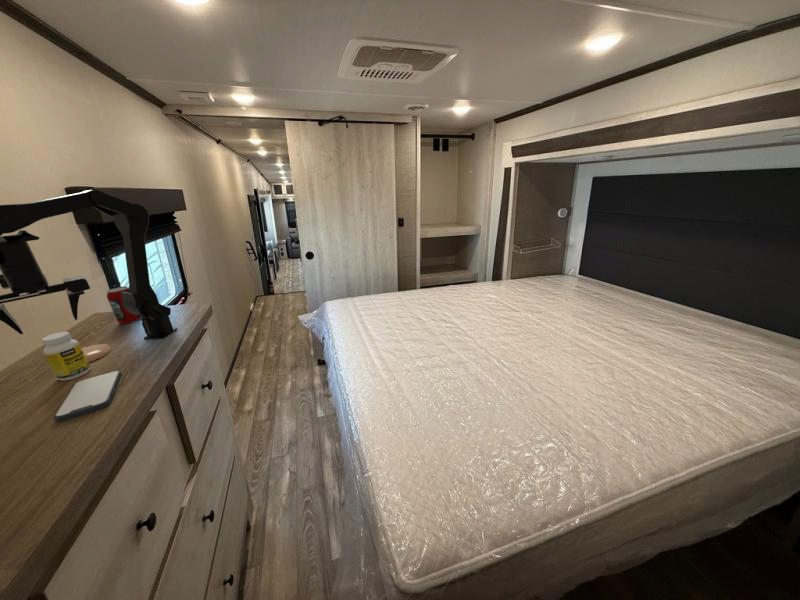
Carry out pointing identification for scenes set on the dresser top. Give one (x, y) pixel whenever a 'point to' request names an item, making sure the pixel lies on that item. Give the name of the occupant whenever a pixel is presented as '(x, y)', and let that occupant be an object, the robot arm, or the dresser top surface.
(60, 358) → the pill bottle
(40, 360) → the dresser top surface
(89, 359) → the tan round disc
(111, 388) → the phone case
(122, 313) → the beverage can
